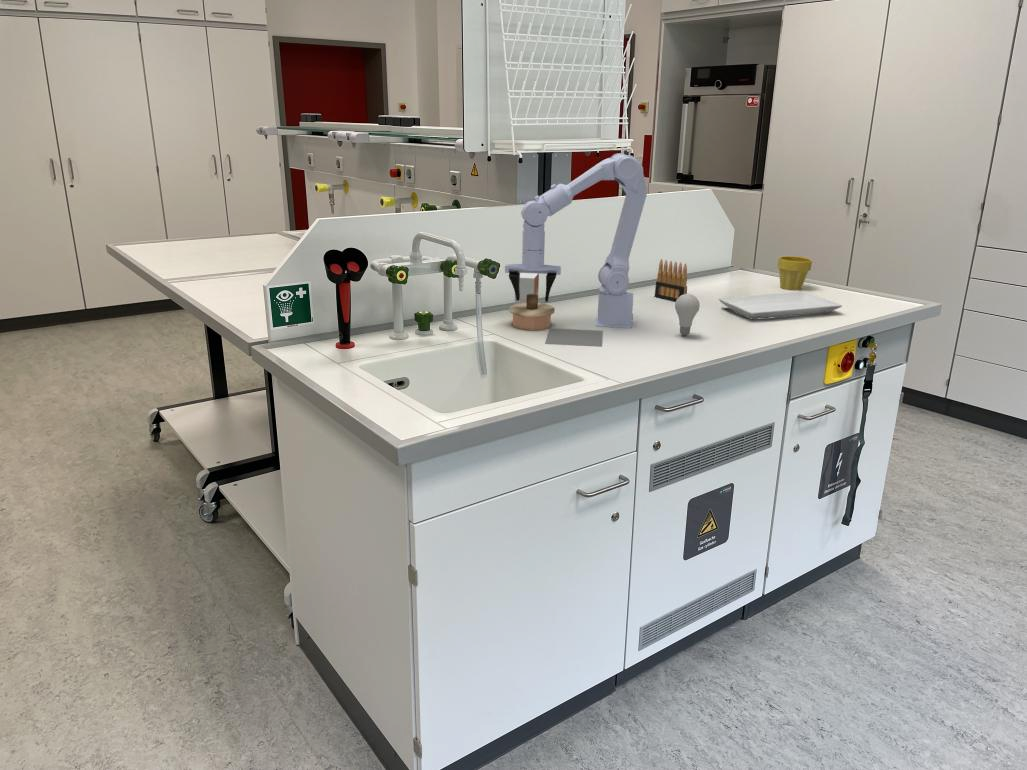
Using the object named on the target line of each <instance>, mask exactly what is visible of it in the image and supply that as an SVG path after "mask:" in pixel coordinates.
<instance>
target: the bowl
mask: <svg viewBox="0 0 1027 770" xmlns="http://www.w3.org/2000/svg"><path fill="white" fill-rule="evenodd" d="M551 324H552V314H551V315H548V316H543V317H524V316H518V315H514V314H512V326H513V327H515V328H517V329H521V330H531V331H537V330H546V329H548V328H550V327H551Z"/></svg>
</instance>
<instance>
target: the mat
mask: <svg viewBox="0 0 1027 770" xmlns="http://www.w3.org/2000/svg"><path fill="white" fill-rule="evenodd" d="M548 328H549V329H548V332H547V334H546V339H545V342H544V344H545V345H555V346H556V345H558V346H560V345H561V346H578V347H579V346H580V347H581V346H582V347H600V348H601V347H603V339H604V338H603V337H604V336H603V334H604V331H603V330H596V329H595V330H594V329H592V330H591V329H575V328H574V329H573V328H571V329H570V328H554V327H553V328H552V327H551V328H550V327H548Z"/></svg>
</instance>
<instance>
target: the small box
mask: <svg viewBox="0 0 1027 770" xmlns="http://www.w3.org/2000/svg"><path fill="white" fill-rule="evenodd" d="M539 278H540V273H520V282H519V290H520V299H519V301H518V300H516V295H515V294H514V304H519V303H527V295H528V294H537V295H538V296H539V282H540V281H539V280H540V279H539Z"/></svg>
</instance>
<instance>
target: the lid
mask: <svg viewBox="0 0 1027 770" xmlns="http://www.w3.org/2000/svg"><path fill="white" fill-rule="evenodd" d="M555 308H556V307H554V306H553V305H550V304H547V303H543V302H539V294H538V295H537V294H528V295H527V303H519V304H515V303H514V304H513V305H512V304H511V306H510V307H509V313H510V314H512V315H513V314H514V315H518V316H524V317H543V316H548V315H551V316H552V315H553V314H555Z"/></svg>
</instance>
